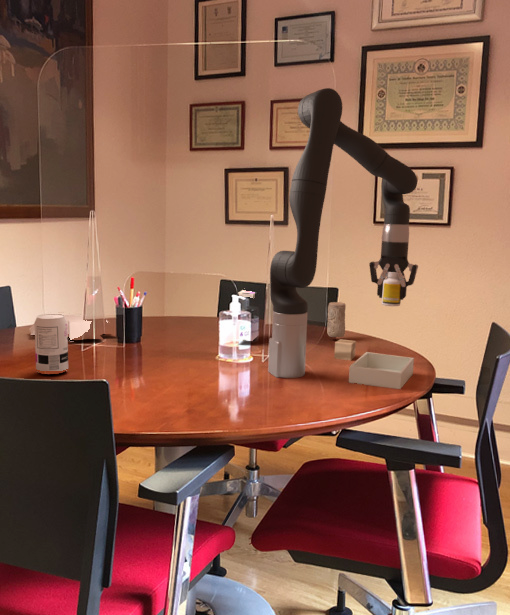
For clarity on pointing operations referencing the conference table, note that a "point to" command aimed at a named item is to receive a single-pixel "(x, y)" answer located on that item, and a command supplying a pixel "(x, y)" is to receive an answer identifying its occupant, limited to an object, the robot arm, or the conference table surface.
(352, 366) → the box
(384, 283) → the supplement bottle
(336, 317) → the carving
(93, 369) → the conference table surface
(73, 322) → the paper sheets
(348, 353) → the birch cube
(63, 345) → the supplement can
